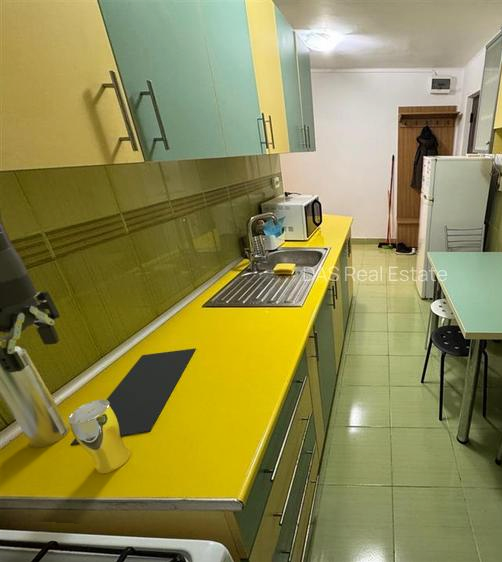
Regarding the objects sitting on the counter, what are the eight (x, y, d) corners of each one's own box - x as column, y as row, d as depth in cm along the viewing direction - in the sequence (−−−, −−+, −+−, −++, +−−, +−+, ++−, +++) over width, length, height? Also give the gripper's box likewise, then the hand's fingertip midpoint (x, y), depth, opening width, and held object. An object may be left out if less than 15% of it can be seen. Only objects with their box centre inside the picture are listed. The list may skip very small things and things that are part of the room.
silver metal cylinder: (42, 451, 71) (-12, 365, 61) (26, 443, 73) (-29, 358, 64) (75, 429, 77) (30, 347, 67) (59, 422, 79) (14, 341, 69)
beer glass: (90, 481, 64) (61, 430, 59) (97, 456, 70) (71, 407, 64) (131, 465, 68) (107, 414, 62) (134, 442, 73) (112, 394, 67)
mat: (70, 445, 73) (70, 444, 72) (142, 355, 105) (142, 354, 105) (150, 431, 76) (149, 430, 76) (196, 349, 108) (195, 348, 108)
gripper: (3, 263, 56) (40, 338, 62) (-84, 296, 43) (-26, 385, 50) (52, 261, 58) (83, 333, 64) (-18, 291, 45) (29, 378, 51)
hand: (35, 356), depth 57 cm, fingers open, 8 cm apart
